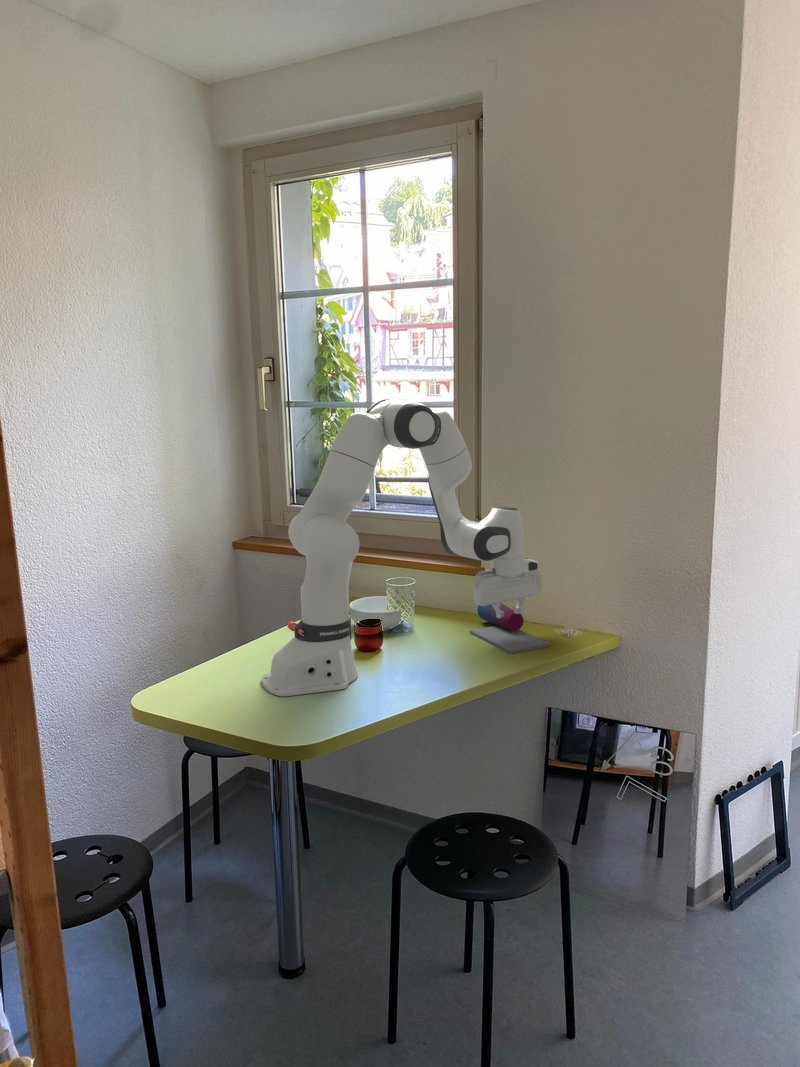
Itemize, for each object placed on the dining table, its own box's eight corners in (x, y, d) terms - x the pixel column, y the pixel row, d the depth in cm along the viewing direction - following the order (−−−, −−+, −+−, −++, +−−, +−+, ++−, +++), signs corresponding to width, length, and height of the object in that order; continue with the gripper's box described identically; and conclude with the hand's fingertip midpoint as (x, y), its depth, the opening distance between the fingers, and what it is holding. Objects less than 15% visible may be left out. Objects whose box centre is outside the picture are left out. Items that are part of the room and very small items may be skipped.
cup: (501, 630, 216) (474, 616, 229) (521, 636, 219) (492, 622, 232) (510, 606, 216) (482, 594, 229) (529, 613, 219) (500, 601, 232)
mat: (511, 653, 203) (511, 650, 203) (469, 633, 221) (469, 630, 221) (549, 646, 209) (549, 643, 208) (505, 626, 226) (505, 624, 226)
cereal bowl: (349, 637, 220) (348, 612, 218) (350, 620, 236) (349, 596, 235) (410, 635, 220) (410, 610, 219) (408, 618, 237) (407, 595, 235)
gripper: (480, 574, 205) (482, 625, 208) (545, 562, 214) (546, 611, 217) (467, 569, 211) (469, 619, 214) (531, 558, 220) (532, 606, 223)
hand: (508, 615), depth 215 cm, fingers open, 4 cm apart
